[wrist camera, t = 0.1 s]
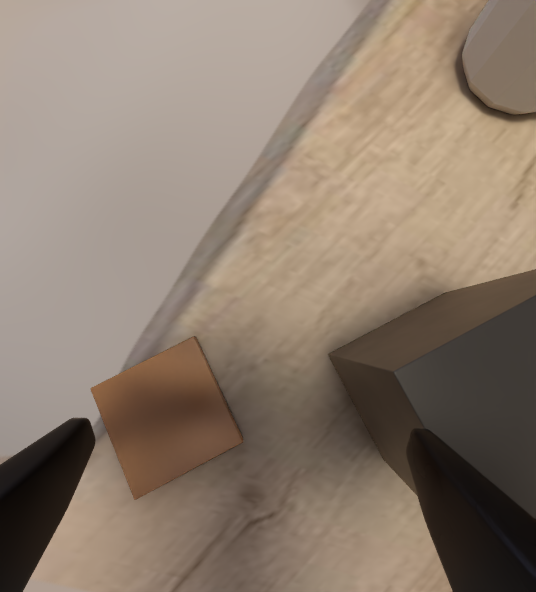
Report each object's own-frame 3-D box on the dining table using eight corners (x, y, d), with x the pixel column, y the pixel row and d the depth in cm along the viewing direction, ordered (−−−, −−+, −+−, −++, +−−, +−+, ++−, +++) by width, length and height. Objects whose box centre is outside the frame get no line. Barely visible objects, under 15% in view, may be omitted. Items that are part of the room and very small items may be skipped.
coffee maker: (535, 441, 20) (907, 585, 8) (411, 512, 19) (625, 776, 8) (445, 292, 21) (652, 238, 10) (327, 354, 21) (401, 374, 9)
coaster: (243, 439, 20) (243, 442, 19) (137, 496, 19) (134, 500, 19) (195, 336, 21) (193, 336, 20) (94, 387, 20) (89, 388, 20)
